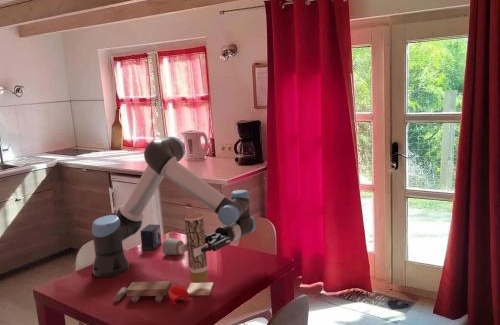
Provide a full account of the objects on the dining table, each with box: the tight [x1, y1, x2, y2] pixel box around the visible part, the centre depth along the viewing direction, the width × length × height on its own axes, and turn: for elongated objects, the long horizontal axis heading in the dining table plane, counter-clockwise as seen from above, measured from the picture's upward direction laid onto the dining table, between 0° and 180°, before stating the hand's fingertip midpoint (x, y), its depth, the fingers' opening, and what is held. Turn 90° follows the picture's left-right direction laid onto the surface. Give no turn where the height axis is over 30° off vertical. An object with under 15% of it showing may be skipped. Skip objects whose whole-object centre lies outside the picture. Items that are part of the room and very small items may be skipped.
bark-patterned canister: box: [184, 213, 209, 283], centre depth 178 cm, size 7×7×25 cm
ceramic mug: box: [161, 237, 185, 256], centre depth 222 cm, size 11×8×8 cm
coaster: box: [186, 281, 214, 297], centre depth 180 cm, size 9×9×1 cm
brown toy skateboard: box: [113, 280, 172, 303], centre depth 177 cm, size 20×8×5 cm, turn 85°
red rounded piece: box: [167, 285, 190, 306], centre depth 171 cm, size 8×6×6 cm
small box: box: [139, 223, 163, 252], centre depth 231 cm, size 11×6×10 cm, turn 168°
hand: (187, 251), depth 174 cm, fingers closed on bark-patterned canister, 7 cm apart
